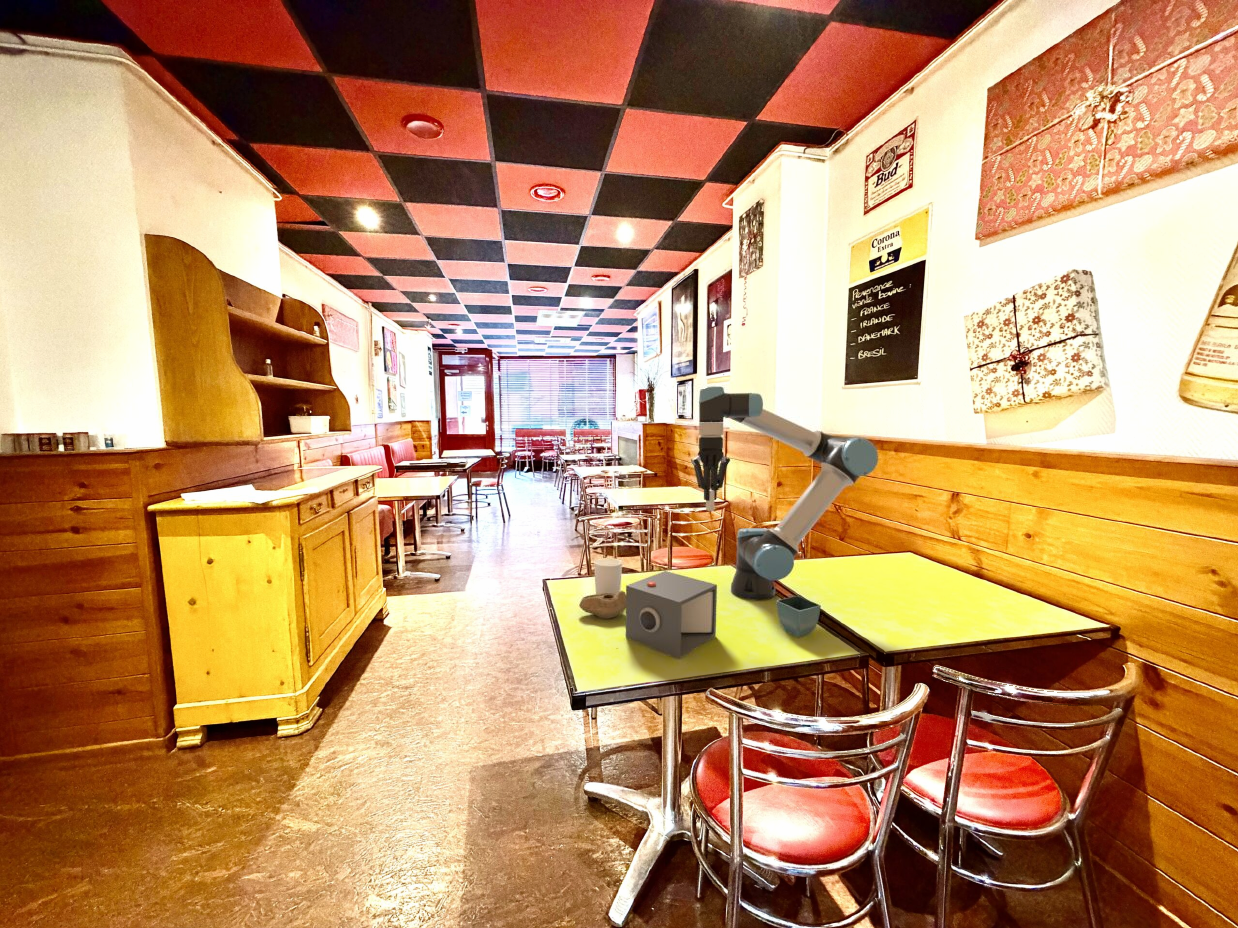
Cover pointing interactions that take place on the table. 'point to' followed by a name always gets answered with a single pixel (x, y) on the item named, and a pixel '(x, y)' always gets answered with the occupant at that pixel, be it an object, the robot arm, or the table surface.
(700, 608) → the side door
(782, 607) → the flower pot
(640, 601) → the cabinet with door
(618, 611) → the oil lamp
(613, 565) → the candle holder
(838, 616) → the table surface
